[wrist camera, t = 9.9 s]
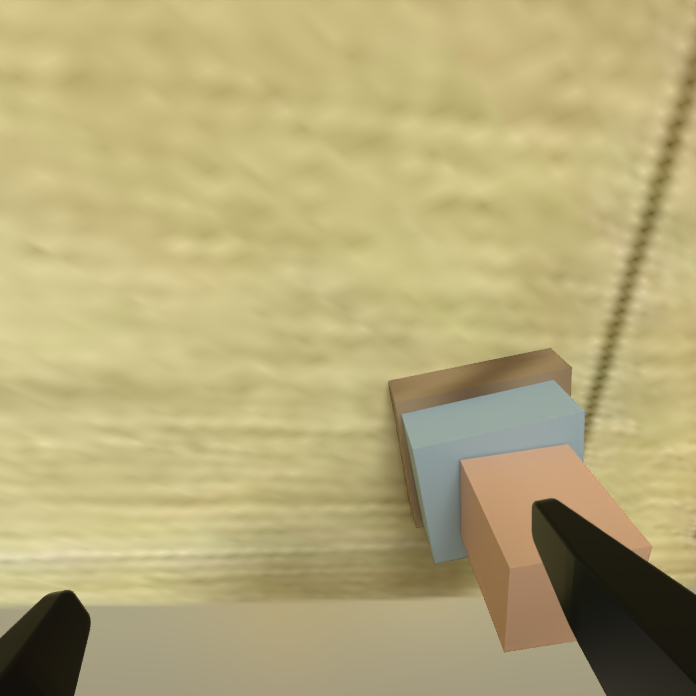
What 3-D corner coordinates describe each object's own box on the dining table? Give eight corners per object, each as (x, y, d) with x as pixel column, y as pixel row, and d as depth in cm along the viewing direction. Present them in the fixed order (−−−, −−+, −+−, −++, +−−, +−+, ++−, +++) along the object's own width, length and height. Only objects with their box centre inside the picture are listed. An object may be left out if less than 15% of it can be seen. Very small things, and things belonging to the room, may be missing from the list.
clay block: (567, 443, 18) (652, 546, 14) (557, 521, 20) (628, 632, 16) (460, 459, 18) (509, 568, 14) (460, 536, 20) (504, 652, 16)
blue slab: (553, 379, 20) (584, 411, 18) (554, 493, 23) (581, 532, 21) (401, 414, 20) (412, 449, 18) (422, 522, 23) (434, 564, 21)
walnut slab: (545, 343, 22) (571, 367, 20) (543, 466, 25) (566, 498, 23) (386, 375, 22) (395, 402, 20) (407, 493, 26) (416, 528, 23)
